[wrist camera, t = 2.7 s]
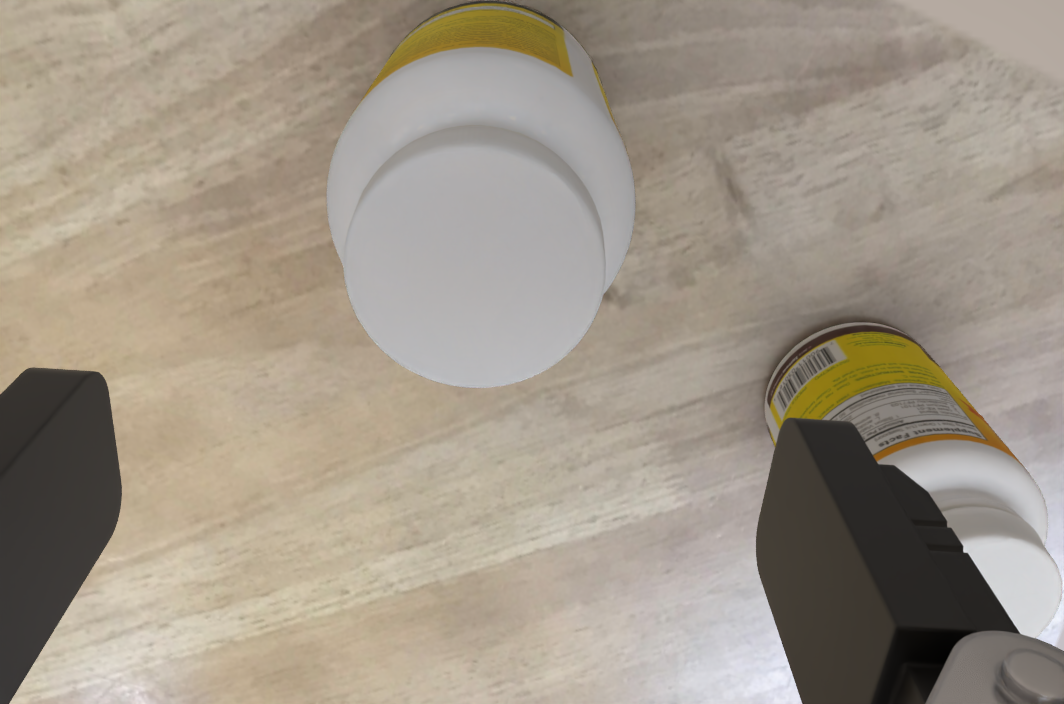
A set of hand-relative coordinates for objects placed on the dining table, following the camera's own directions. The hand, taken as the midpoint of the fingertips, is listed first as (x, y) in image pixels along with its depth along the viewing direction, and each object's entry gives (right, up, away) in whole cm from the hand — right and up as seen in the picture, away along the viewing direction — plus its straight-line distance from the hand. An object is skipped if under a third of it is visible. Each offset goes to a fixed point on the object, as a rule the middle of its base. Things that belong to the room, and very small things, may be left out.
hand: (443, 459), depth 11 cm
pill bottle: (0, +8, +16) cm, 18 cm away
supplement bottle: (+11, 0, +20) cm, 23 cm away
